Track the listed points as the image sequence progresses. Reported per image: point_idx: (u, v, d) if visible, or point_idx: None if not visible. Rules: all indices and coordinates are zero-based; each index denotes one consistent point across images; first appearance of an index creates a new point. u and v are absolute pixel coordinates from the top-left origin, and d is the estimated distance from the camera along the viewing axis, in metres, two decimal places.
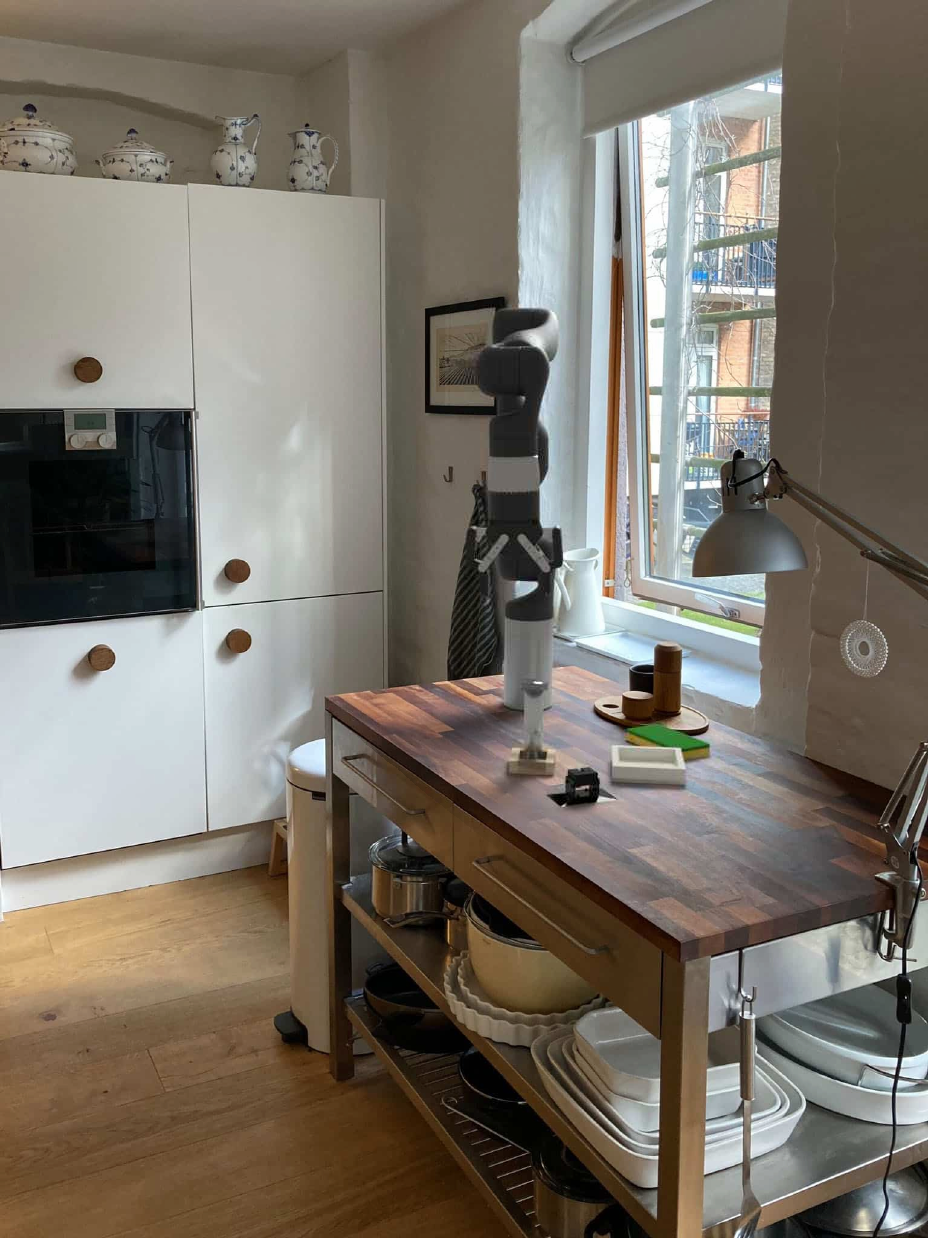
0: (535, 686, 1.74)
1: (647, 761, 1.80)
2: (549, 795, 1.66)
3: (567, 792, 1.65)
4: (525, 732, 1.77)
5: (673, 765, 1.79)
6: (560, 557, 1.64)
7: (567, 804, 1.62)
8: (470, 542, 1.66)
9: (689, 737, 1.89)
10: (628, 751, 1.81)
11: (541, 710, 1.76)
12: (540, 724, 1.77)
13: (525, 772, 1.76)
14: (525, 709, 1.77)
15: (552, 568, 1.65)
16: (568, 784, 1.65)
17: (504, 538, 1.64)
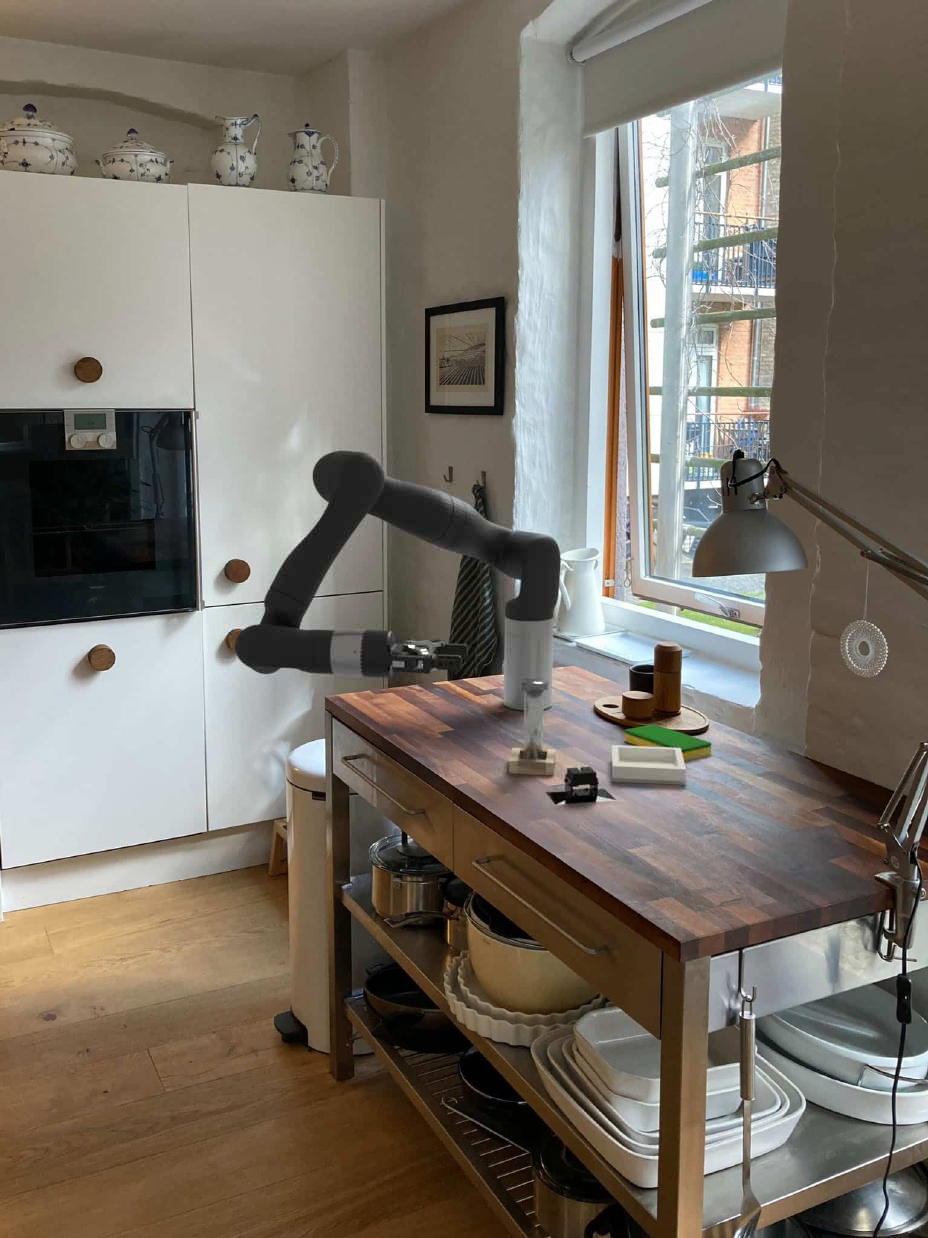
0: (535, 686, 1.74)
1: (647, 761, 1.80)
2: (548, 793, 1.67)
3: (566, 790, 1.66)
4: (525, 732, 1.77)
5: (673, 765, 1.79)
6: (420, 672, 1.71)
7: (563, 802, 1.63)
8: None
9: (689, 736, 1.90)
10: (628, 751, 1.81)
11: (541, 710, 1.76)
12: (540, 724, 1.77)
13: (525, 772, 1.76)
14: (525, 709, 1.77)
15: None
16: (567, 783, 1.66)
17: None
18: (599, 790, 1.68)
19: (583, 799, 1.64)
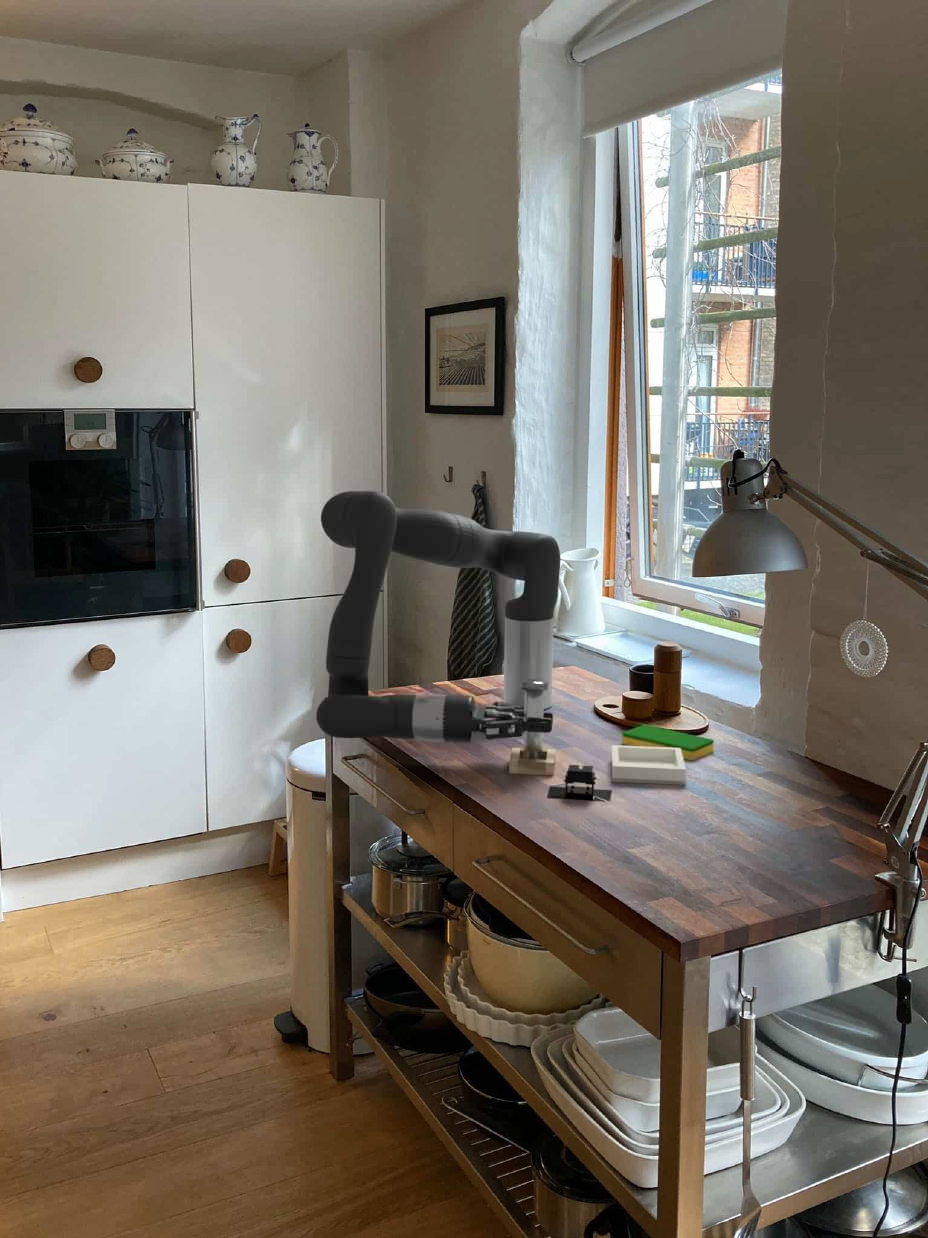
0: (535, 686, 1.74)
1: (647, 761, 1.80)
2: (551, 787, 1.70)
3: None
4: None
5: (673, 765, 1.79)
6: (513, 736, 1.74)
7: (554, 797, 1.65)
8: None
9: (688, 735, 1.90)
10: (628, 751, 1.81)
11: (541, 710, 1.76)
12: None
13: (525, 772, 1.76)
14: (525, 709, 1.77)
15: None
16: None
17: None
18: (603, 791, 1.68)
19: (577, 797, 1.65)
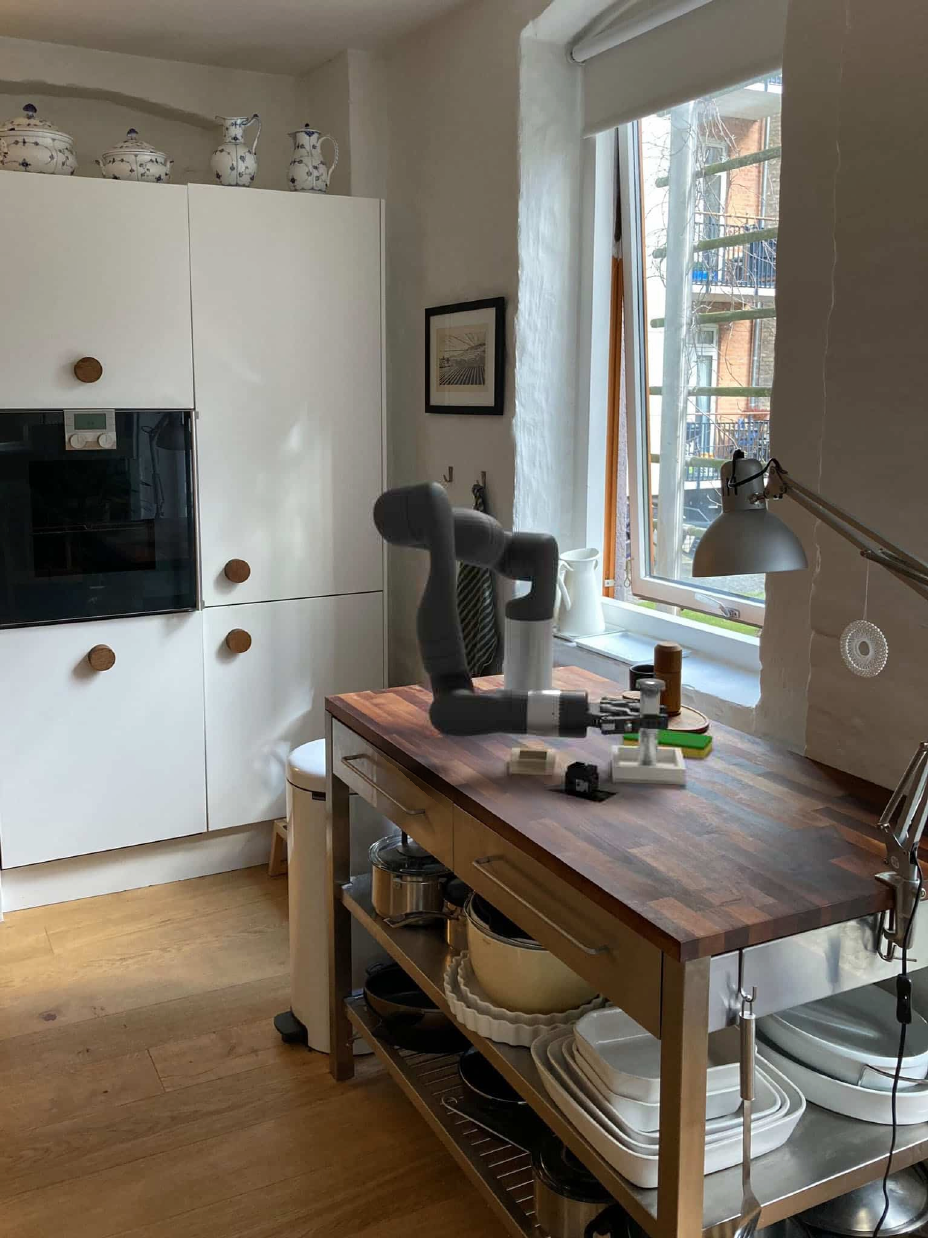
0: (653, 686, 1.72)
1: None
2: (563, 782, 1.72)
3: (571, 783, 1.70)
4: (640, 733, 1.75)
5: (673, 765, 1.79)
6: None
7: (553, 790, 1.68)
8: None
9: (685, 733, 1.91)
10: (628, 751, 1.81)
11: (657, 711, 1.74)
12: None
13: (525, 772, 1.76)
14: (641, 709, 1.75)
15: None
16: None
17: None
18: (606, 792, 1.67)
19: (573, 793, 1.67)
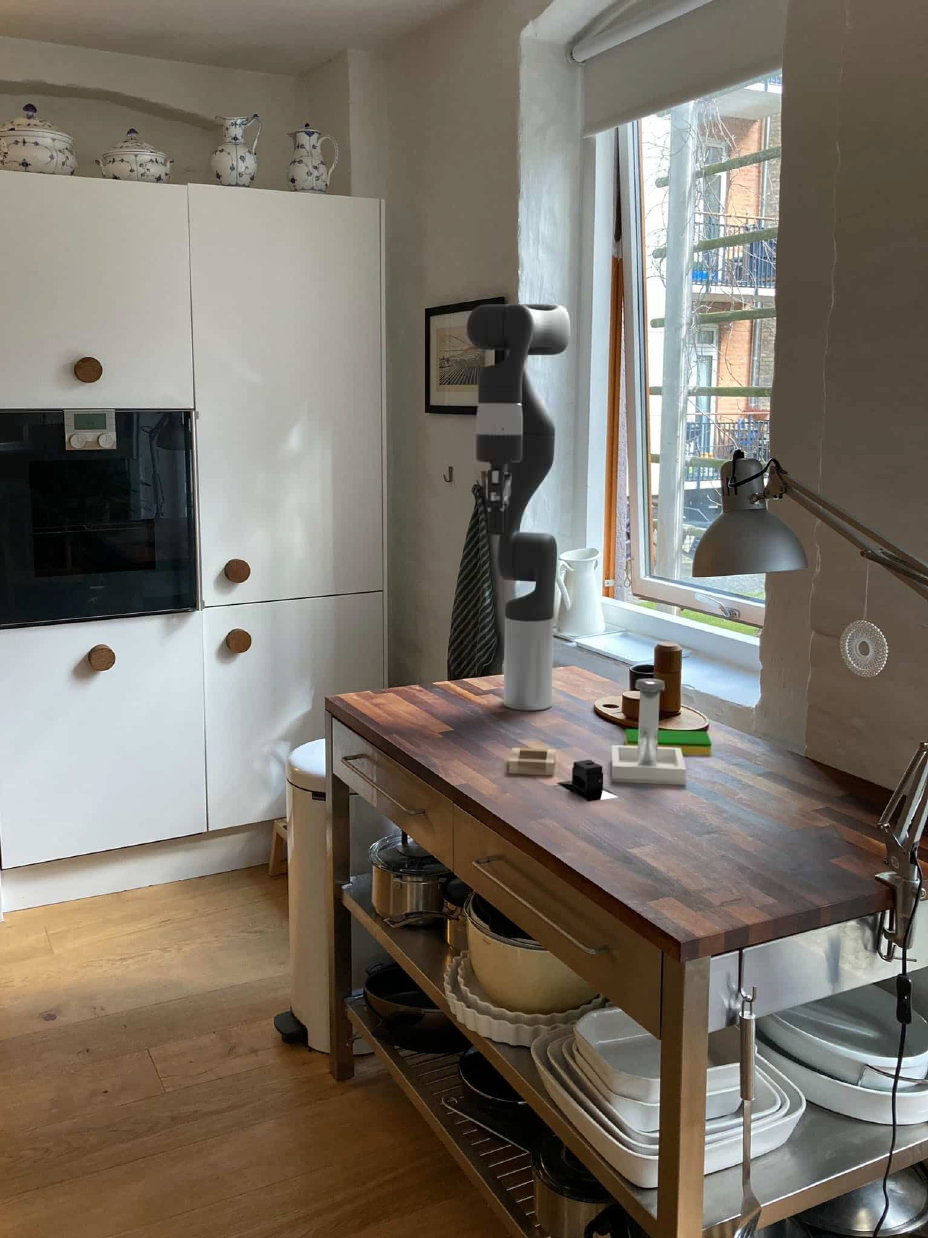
0: (652, 686, 1.72)
1: None
2: None
3: (583, 780, 1.71)
4: (640, 733, 1.75)
5: (673, 765, 1.79)
6: (487, 498, 1.77)
7: (561, 784, 1.71)
8: None
9: (680, 731, 1.92)
10: (628, 751, 1.81)
11: (657, 711, 1.74)
12: (656, 725, 1.75)
13: (525, 772, 1.76)
14: (641, 710, 1.75)
15: (491, 508, 1.79)
16: None
17: None
18: (607, 794, 1.66)
19: (574, 789, 1.68)
